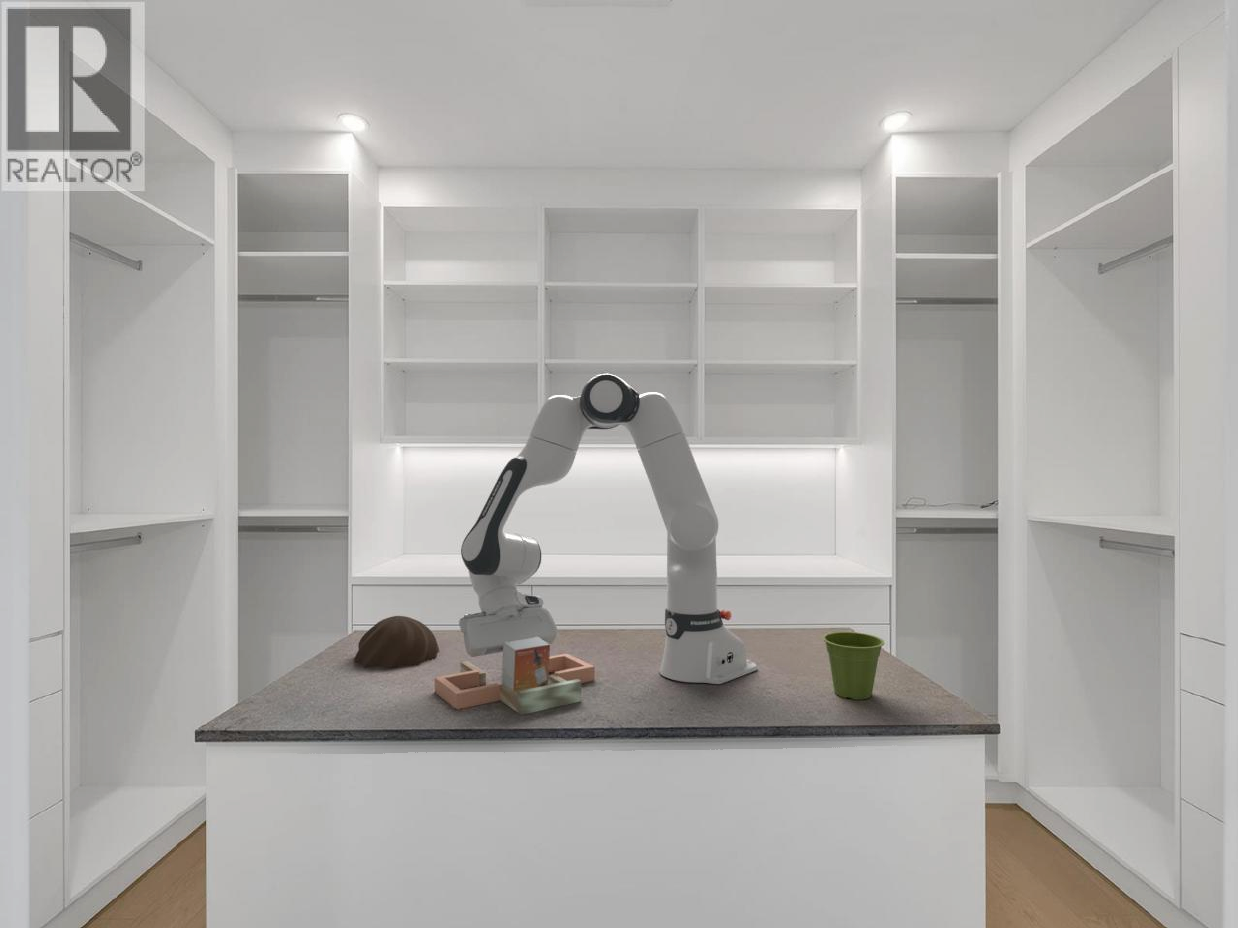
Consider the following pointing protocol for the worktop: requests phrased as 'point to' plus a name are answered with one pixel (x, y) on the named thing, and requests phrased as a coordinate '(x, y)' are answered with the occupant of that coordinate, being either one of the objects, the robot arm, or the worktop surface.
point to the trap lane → (534, 692)
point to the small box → (525, 664)
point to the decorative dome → (396, 644)
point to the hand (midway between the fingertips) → (522, 665)
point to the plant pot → (853, 662)
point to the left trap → (465, 698)
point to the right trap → (571, 668)
